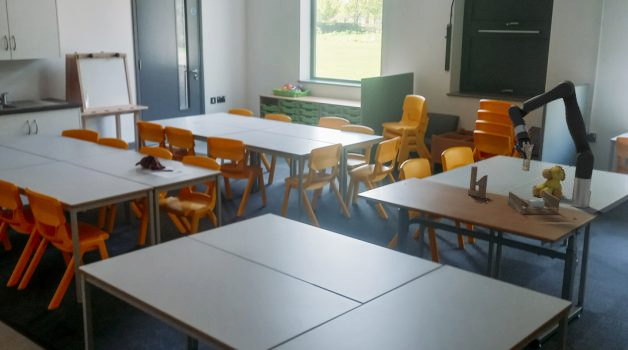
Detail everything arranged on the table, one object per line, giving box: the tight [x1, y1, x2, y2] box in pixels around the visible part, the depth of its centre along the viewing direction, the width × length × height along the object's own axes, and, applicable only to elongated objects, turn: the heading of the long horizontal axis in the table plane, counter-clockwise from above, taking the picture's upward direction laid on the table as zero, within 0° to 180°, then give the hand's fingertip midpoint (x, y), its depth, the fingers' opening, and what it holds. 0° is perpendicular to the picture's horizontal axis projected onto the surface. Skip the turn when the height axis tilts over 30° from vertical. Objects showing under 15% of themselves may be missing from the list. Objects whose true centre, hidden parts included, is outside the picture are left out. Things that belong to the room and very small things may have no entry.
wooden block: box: [467, 165, 488, 199], centre depth 403 cm, size 4×11×18 cm, turn 41°
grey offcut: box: [527, 199, 545, 207], centre depth 370 cm, size 8×3×3 cm, turn 96°
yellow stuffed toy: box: [531, 164, 566, 200], centre depth 410 cm, size 20×24×19 cm
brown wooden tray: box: [507, 190, 561, 215], centre depth 374 cm, size 22×18×9 cm
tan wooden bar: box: [521, 144, 532, 172], centre depth 383 cm, size 2×4×15 cm, turn 6°
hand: (528, 158), depth 381 cm, fingers closed on tan wooden bar, 2 cm apart
